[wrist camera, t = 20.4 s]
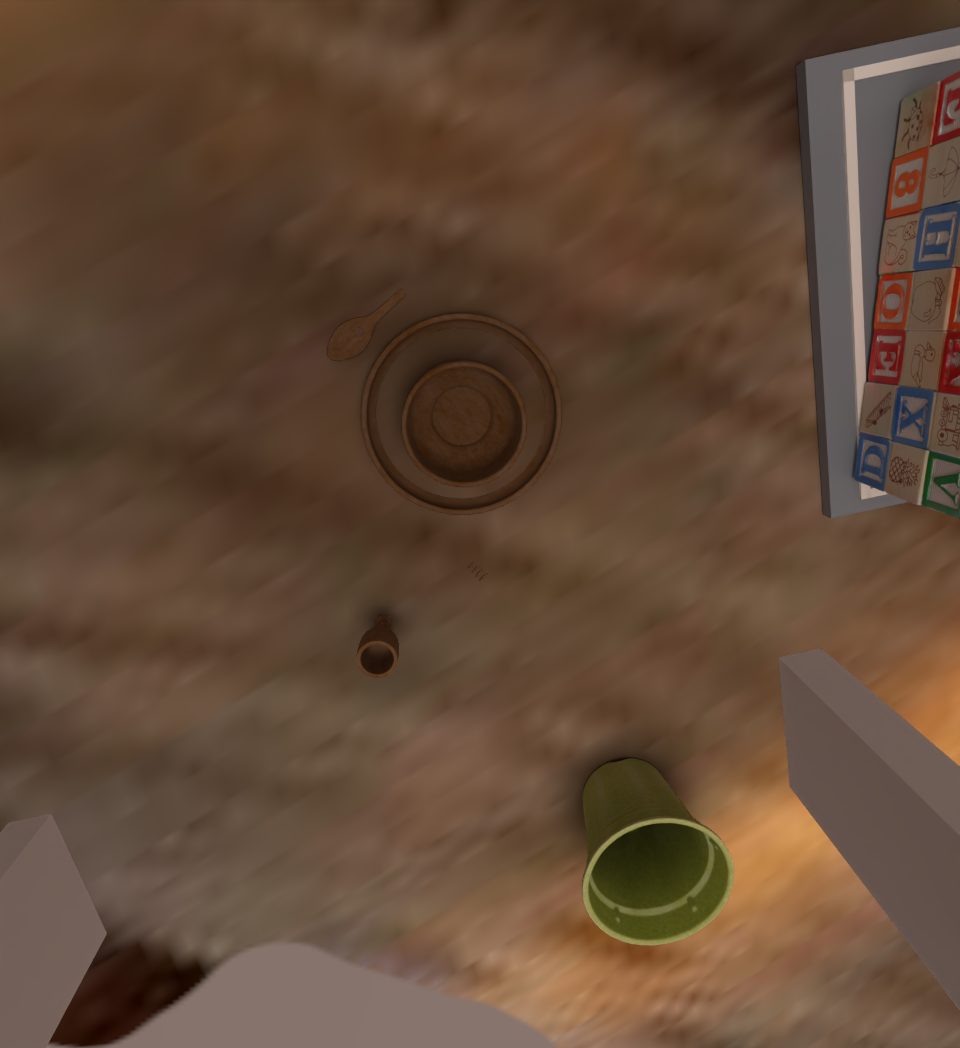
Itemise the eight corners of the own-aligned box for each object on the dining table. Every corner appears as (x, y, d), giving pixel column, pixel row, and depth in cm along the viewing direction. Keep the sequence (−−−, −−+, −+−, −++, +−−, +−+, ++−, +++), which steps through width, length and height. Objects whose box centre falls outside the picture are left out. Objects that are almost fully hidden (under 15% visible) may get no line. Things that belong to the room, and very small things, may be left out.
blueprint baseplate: (795, 66, 38) (807, 58, 37) (1028, 16, 38) (1046, 7, 37) (822, 514, 45) (833, 519, 44) (1016, 472, 45) (1032, 476, 44)
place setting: (623, 462, 44) (650, 483, 39) (388, 650, 47) (381, 696, 41) (444, 232, 40) (446, 218, 34) (195, 456, 42) (159, 477, 37)
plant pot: (534, 815, 51) (553, 912, 42) (604, 715, 49) (638, 796, 40) (639, 863, 53) (677, 965, 44) (710, 768, 51) (764, 857, 42)
